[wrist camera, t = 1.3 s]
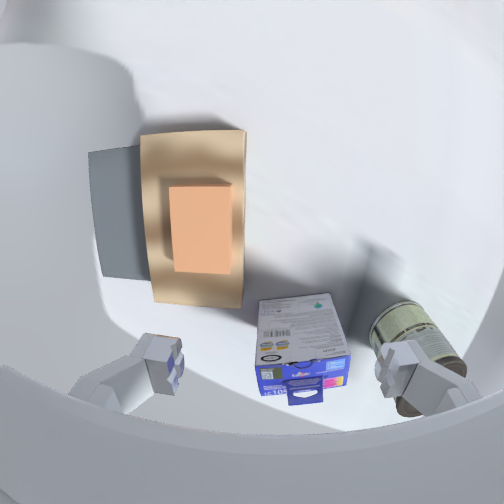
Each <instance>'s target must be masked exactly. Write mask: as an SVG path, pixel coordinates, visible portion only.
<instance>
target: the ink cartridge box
mask: <svg viewBox="0 0 504 504" xmlns="http://www.w3.org/2000/svg"><path fill="white" fill-rule="evenodd" d="M350 359H351V353H350V350H349V347H348V344H347V341H346V338H345V335H344V332H343V329H342V326H341V323H340V321H339V318H338V315H337V312H336V309H335V307H334V304H333V301H332V298H331V295H330V293H325V294H317V295H309V296H301V297H292V298H283V299H273V300H263V301H259V310H258V328H257V345H256V358H255V371H256V377H257V382H258V387H259V391H260V394H261V396H267V395H279V394H287V396H288V405H289V406H292V405H302V404H311V403H320V402H323V389H327V388H333V387H339V386H345V385H346V383H347V377H348V371H349V365H350ZM313 390H317V391H318V393H317V394H315V395H312V396H310V397H307V398H303V397H296V396H294V395H293V393H298V392H306V391H313Z"/></svg>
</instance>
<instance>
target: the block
mask: <svg viewBox="0 0 504 504" xmlns="http://www.w3.org/2000/svg"><path fill="white" fill-rule="evenodd" d="M232 187H233V184H175V185H172V186H170V187H169V200H170V219H171V234H172V246H173V258H174V268H175V272H192V273H210V274H229V275H230V273H231V270H232Z"/></svg>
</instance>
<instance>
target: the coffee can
mask: <svg viewBox="0 0 504 504" xmlns="http://www.w3.org/2000/svg"><path fill="white" fill-rule="evenodd" d="M406 340H416V341H417V342H418V344H419V345H420V347H421V348H422V349H423V351H424V352H425V354H426V355H427V357H428V358H429V360H430V361H434V362H436V363H438V364H440V365H442V366H443V367H445V368H447V369H449V370H451V371H453V372H455V373H457V374H458V375H460V376H462V377H464V378H465V377H466V374H467V366H466V364H465V363H464V361H463V360H461V359H460V357H459V356H458V354H457V353H456V352H455V350H454V349H453V347H452V346H451V345H450V343H449V342H448V341H447V339H446V338H445V337H444V335H443V334H442V333H441V331H440V330H439V329H438V327H437V326H436V325H435V324H434V322H433V321H432V320H431V318H430V317H429V316H428V315H427V313H426V312H425V311H424V309H423V308H422V306H421V305H419V304H418V303H416V302H412V301H404V302H399V303H396V304H394V305H392V306H390V307H389V308H387V309H386V310H384V311H383V312H382V313H381V314H380V315H379V316H378V317H377V319H376V320H375V321H374V323H373V325H372V327H371V329H370V333H369V341H370V344H371V346H372V348H373V350H374V352H375V354H376V357H377V359H378V358H379V357H380V356H381V355H382V354H381V352H380V349H381V346H382V345H383V343H388V342H400V341H406ZM393 398H394V400H395V403H396V409H397V412H398V413H399V414H400V415H401V416H404V417H416V416H420V415H423V414H422V413H421V412H419V411H418V410H417V409H416V408H415V407H413V406H412V405H411V404H410V403H409V402H408V401H406V400H405V399H404V398H403V397H402V396H398V397H393Z"/></svg>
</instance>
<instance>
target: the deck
mask: <svg viewBox="0 0 504 504" xmlns="http://www.w3.org/2000/svg"><path fill="white" fill-rule="evenodd" d="M246 136H247V132H246V131H244V130H205V131H185V132H171V133H159V134H149V135H140V161H141V186H142V203H143V216H144V227H145V237H146V246H147V255H148V262H149V270H150V277H151V284H152V290H153V296H154V302H158V303H168V304H178V305H190V306H202V307H216V308H232V309H241V308H242V302H243V296H244V251H245V186H246ZM175 184H233V187H232V270H231V273H230V275H229V274H210V273H192V272H175V268H174V258H173V246H172V234H171V219H170V200H169V187H170V186H172V185H175Z"/></svg>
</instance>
